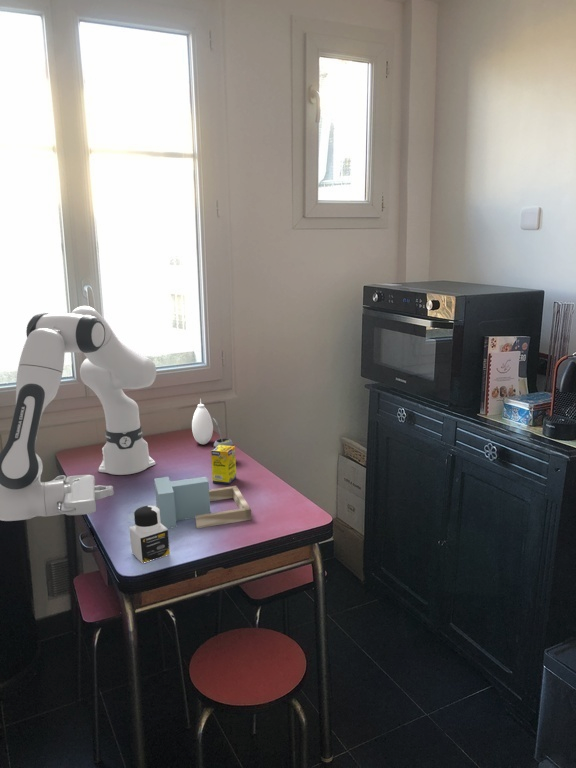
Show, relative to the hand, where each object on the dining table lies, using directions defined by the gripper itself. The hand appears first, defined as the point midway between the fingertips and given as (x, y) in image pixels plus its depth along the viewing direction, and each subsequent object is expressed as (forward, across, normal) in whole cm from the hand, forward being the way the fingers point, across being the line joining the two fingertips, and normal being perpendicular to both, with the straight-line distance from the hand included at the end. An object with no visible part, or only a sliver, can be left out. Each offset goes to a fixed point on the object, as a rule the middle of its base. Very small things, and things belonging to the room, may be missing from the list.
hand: (113, 490), depth 166 cm
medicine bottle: (+7, -18, +11) cm, 23 cm away
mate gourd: (+37, +40, +10) cm, 55 cm away
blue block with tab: (+18, +1, +11) cm, 21 cm away
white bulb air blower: (+34, +63, +10) cm, 72 cm away
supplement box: (+34, +23, +10) cm, 42 cm away
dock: (+28, +1, +10) cm, 30 cm away
